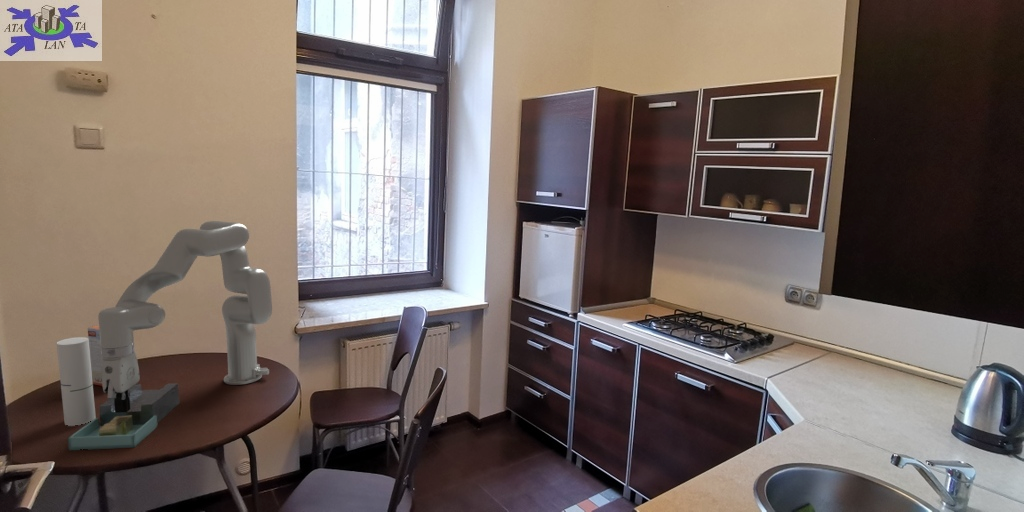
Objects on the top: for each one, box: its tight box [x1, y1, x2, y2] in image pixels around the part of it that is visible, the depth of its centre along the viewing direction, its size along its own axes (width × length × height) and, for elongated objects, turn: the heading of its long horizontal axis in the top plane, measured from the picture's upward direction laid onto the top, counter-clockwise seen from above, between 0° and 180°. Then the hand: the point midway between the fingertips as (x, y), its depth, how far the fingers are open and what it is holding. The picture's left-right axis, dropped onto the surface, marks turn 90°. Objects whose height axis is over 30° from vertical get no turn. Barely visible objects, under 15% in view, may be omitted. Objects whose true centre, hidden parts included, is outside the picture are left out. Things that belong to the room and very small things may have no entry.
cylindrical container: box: [56, 336, 97, 427], centre depth 152 cm, size 7×7×25 cm
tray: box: [67, 416, 158, 451], centre depth 144 cm, size 16×12×4 cm
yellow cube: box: [99, 422, 124, 436], centre depth 142 cm, size 4×4×4 cm
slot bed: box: [99, 382, 180, 426], centre depth 157 cm, size 14×16×7 cm
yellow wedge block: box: [109, 415, 133, 435], centre depth 146 cm, size 4×4×4 cm
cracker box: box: [87, 324, 103, 387], centre depth 178 cm, size 14×6×21 cm, turn 71°
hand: (122, 411), depth 148 cm, fingers closed
